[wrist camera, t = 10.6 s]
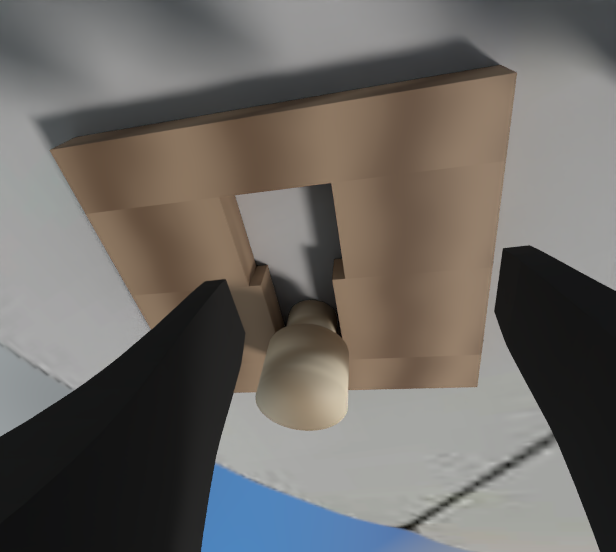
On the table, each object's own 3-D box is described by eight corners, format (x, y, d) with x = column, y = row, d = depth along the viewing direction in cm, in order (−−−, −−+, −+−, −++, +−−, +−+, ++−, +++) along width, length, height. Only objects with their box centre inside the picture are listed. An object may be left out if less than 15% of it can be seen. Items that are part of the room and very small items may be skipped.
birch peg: (342, 285, 23) (337, 370, 18) (355, 341, 26) (355, 428, 20) (267, 294, 24) (242, 377, 19) (287, 347, 27) (271, 432, 22)
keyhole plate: (500, 64, 15) (517, 72, 14) (469, 362, 26) (477, 386, 24) (75, 137, 19) (49, 150, 18) (196, 372, 29) (187, 393, 28)
